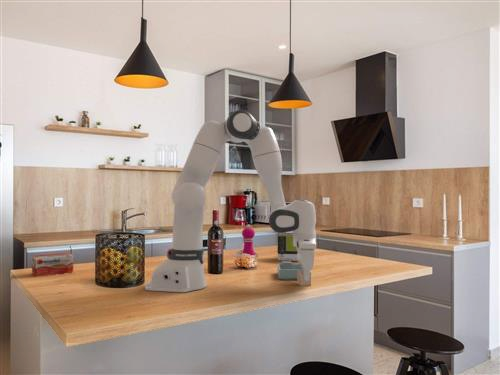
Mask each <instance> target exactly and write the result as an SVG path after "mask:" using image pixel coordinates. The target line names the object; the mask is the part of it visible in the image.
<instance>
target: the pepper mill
mask: <svg viewBox="0 0 500 375" xmlns="http://www.w3.org/2000/svg"><path fill="white" fill-rule="evenodd" d="M255 234H256V233H255V230H254V229H253V228H252V227H251V225H250V224H247V225H246V227H245V228H244V229H242V232H241V235H242V237H243V238H242V239H243V240H242V242H243V250H242V251H241V253H242V252H243V253H247V254H250V255H256V252H255V250H254V247H253V243H254V237H255Z"/></svg>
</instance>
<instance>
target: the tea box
mask: <svg viewBox="0 0 500 375" xmlns="http://www.w3.org/2000/svg"><path fill="white" fill-rule="evenodd" d="M276 233H277V234H276V235H277V238H276V239H277V240H276V241H277V261H291V262H292V261H293V262H298V259H297V250H296V247H295V246H293V231H290V232H286V233H278V232H276Z"/></svg>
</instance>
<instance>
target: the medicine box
mask: <svg viewBox="0 0 500 375" xmlns="http://www.w3.org/2000/svg"><path fill="white" fill-rule="evenodd" d="M72 272H73V273H74V255H73V254H71V253H70V252H62V253H61V252H60V253H49V254H48V253H47V254H37V255H32V258H31V273H32V274H31V275H33V276H34V278H37V277H39V276H40V277H49V276H48V275H50V276H56V274H59V275H65V274H64V273H69V274H73V273H72ZM40 277H39V278H40Z"/></svg>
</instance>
